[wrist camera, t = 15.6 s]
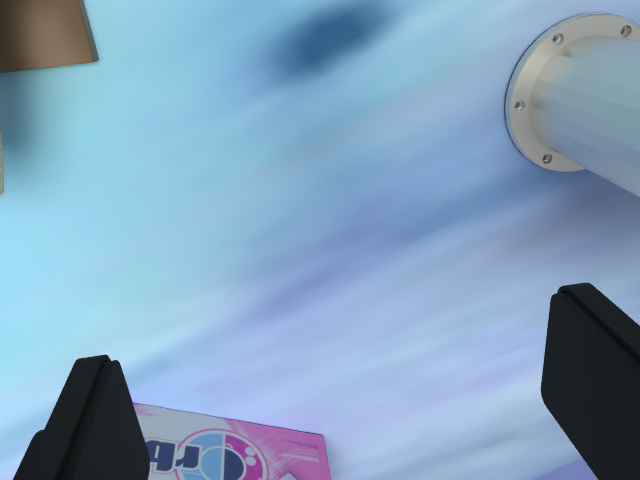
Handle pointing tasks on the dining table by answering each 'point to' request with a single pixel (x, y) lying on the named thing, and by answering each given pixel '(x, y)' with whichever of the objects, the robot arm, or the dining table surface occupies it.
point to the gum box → (227, 448)
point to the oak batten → (1, 167)
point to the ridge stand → (44, 34)
